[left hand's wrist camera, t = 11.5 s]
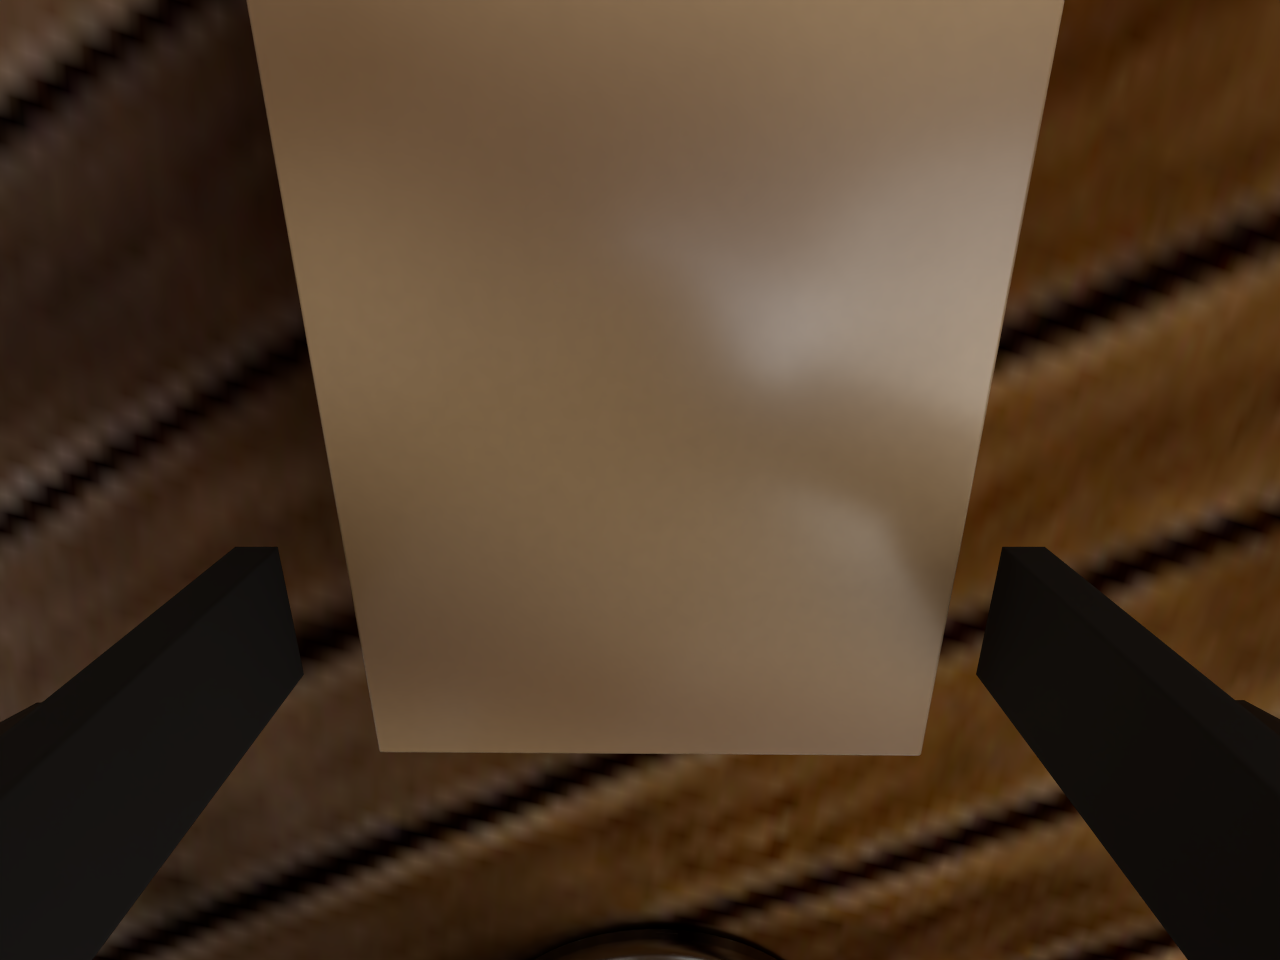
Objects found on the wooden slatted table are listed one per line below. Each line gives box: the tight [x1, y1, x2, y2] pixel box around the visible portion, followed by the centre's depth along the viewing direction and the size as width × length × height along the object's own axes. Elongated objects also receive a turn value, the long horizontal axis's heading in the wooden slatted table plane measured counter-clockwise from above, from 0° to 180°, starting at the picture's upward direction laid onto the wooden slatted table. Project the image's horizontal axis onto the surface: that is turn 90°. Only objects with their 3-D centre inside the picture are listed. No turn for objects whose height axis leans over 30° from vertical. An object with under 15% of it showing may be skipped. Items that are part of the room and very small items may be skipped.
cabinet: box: [247, 0, 1064, 755], centre depth 13 cm, size 22×10×9 cm, turn 0°
